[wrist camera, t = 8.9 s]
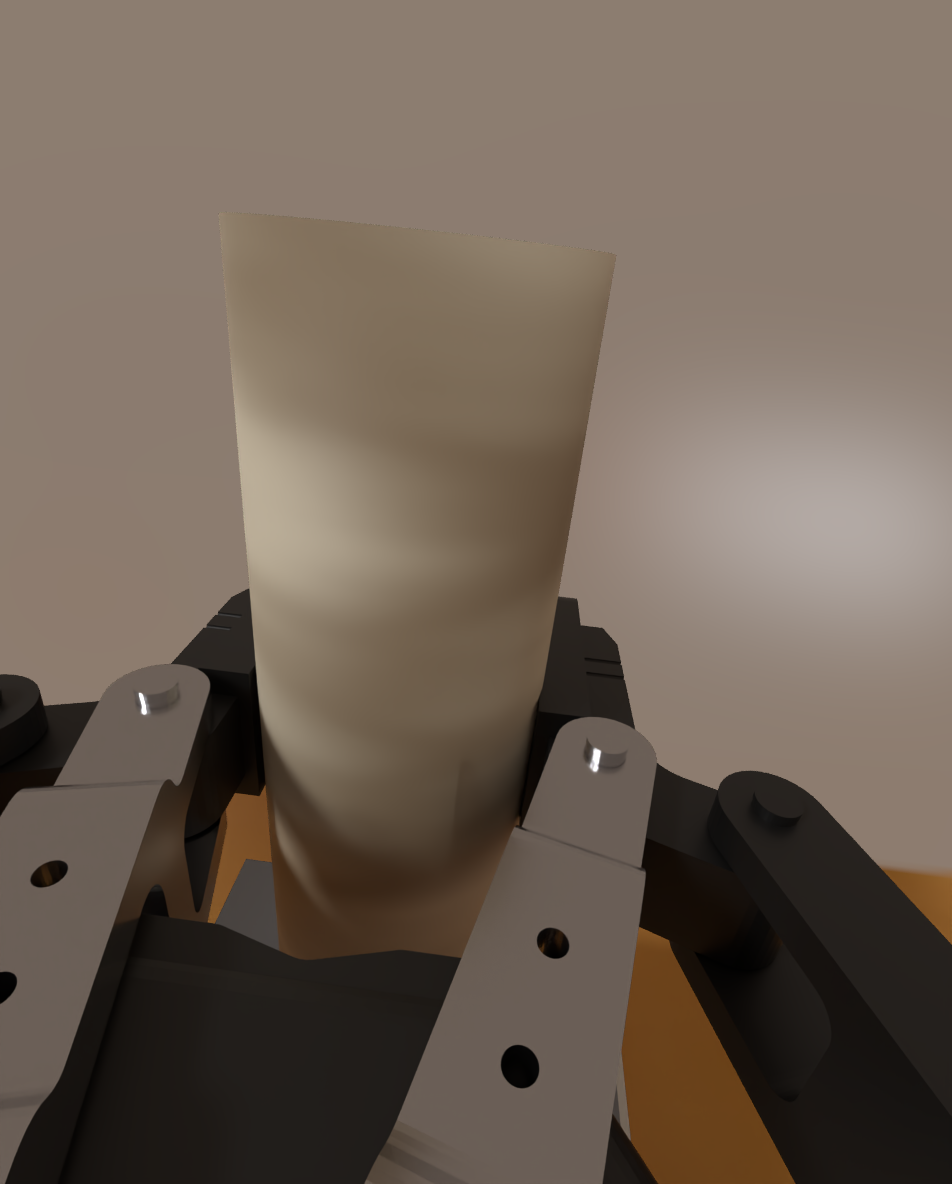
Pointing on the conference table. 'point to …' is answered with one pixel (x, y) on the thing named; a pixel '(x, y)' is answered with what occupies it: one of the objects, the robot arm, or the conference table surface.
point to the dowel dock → (257, 919)
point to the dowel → (402, 552)
